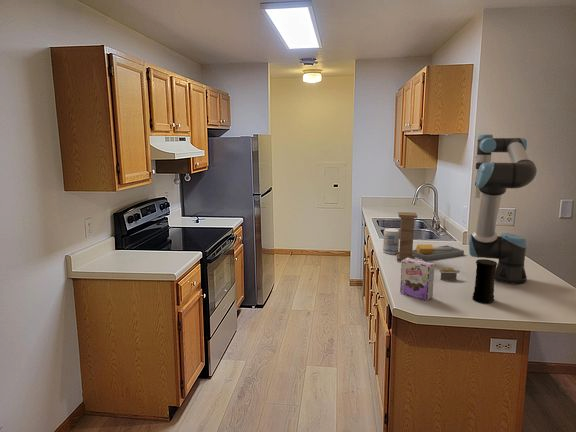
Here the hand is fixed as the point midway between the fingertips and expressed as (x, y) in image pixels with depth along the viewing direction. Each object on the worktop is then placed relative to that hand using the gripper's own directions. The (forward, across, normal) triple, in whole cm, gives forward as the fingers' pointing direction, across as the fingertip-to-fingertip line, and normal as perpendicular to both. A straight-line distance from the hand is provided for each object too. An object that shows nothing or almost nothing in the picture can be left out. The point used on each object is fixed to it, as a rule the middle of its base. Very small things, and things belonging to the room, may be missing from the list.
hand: (480, 199), depth 238 cm
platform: (+37, +36, -21) cm, 56 cm away
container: (+37, +62, -10) cm, 73 cm away
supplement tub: (+37, -11, -48) cm, 62 cm away
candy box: (+37, +62, -39) cm, 82 cm away
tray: (+37, -10, -20) cm, 43 cm away
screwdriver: (+34, -10, -21) cm, 41 cm away
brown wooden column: (+37, +4, -40) cm, 54 cm away
